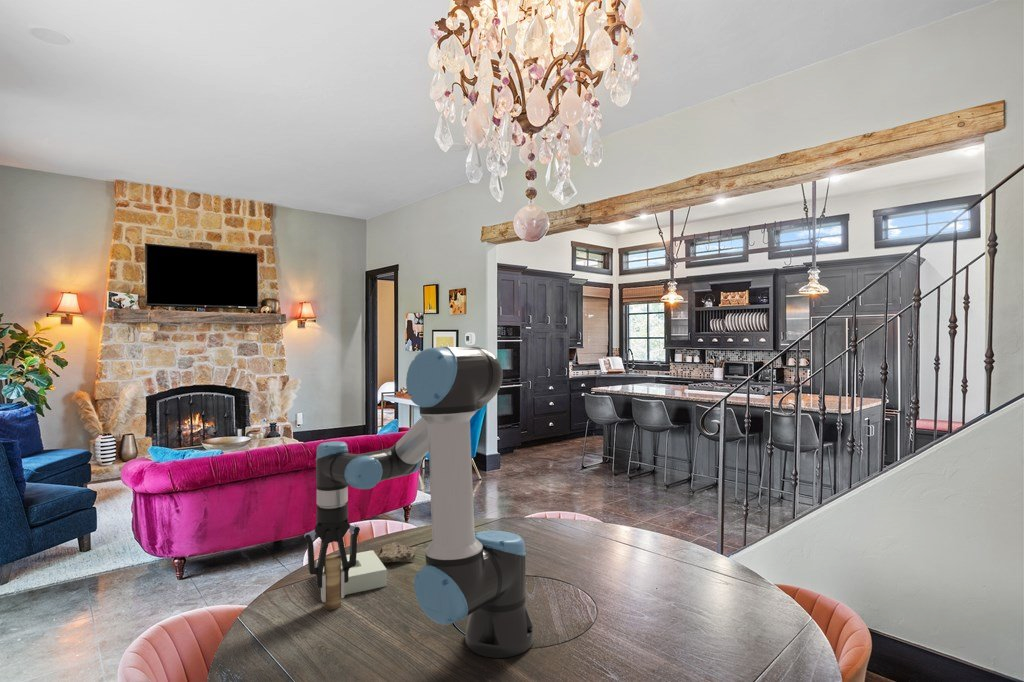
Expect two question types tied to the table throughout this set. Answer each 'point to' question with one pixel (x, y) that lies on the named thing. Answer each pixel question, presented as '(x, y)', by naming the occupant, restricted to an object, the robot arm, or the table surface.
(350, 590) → the socket block
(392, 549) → the rock
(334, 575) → the dowel
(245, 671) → the table surface
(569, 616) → the table surface
